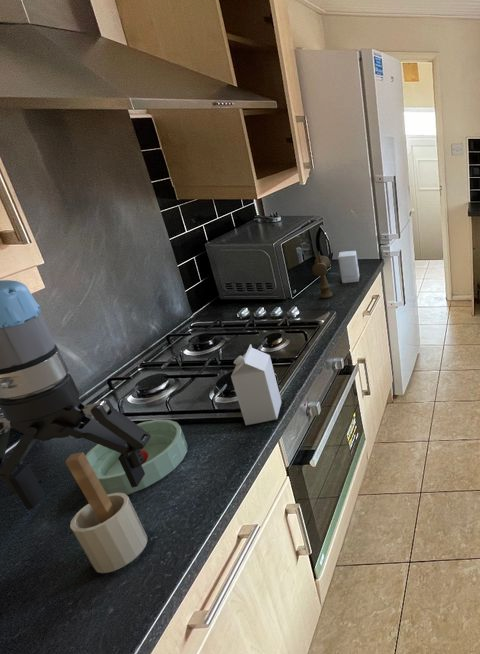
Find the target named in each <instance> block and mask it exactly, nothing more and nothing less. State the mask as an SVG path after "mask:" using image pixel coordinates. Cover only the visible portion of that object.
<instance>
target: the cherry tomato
mask: <svg viewBox="0 0 480 654" xmlns="http://www.w3.org/2000/svg"><path fill="white" fill-rule="evenodd" d="M141 452H142V454H143V457H144V461H143V462H142V463H144V462H145V461H146V460H147V458H148V453H147V452H146V451H144V450H141Z"/></svg>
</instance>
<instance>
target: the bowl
mask: <svg viewBox="0 0 480 654" xmlns="http://www.w3.org/2000/svg"><path fill="white" fill-rule="evenodd" d="M136 424H137V425H138V426H139V427H141V428H142V429H143V430H145V431H146V432H148V433H149V434H150V435H151V437H150V439H149V440H148V442H147V443H146V445H145V446H144V448H143V449H140V450H144V451H146V452H147V453H148V458H147V460H146V461H145V462H144V463H142V464H141V465H142V468H143V470H144V472H145V475H144V476H143V478H142V480H141V481H140V483H139V485H138V486H137V487H133V488H132V487H131V485H130V482H129V480H128V478H127V476H126V474H125V472H124V470H123V467H122V465H121V463H120V461H119V459H118V458H119V456H120V455H121V453H119V452H116V451H114V450H112V449H109V448H107V447H104V446H102V445H99V444H97V443H96V445H95V446H93V447H92V448H91V449H90V450H89V451H88V452H87V453H86V454H85V456H86V458H87V460H88V461H89V463H90V465H91V467H92V469H93V471H94V472H95V474H96V476H97V478H98V480H99V481H100V483H101V485H102V487H103V489H104V490H105V492H106V494H107V495H108V494H113V493H125V494H126V495H127V496H128V495H131V494H133V493H135V492H139V491H142V490H144V489H146V488H148V487H150V486H151V485H153V484H156V483H157V482H159V481H161V480H162V479H164V478H165V477H166V476H168V475H169V474H170V473H171V472H173V471H174V470H176V468H177V467H178V466H179V465H180V464H181V462H183V461H184V459H185V457H186V456H187V455H186V454H187V453H188V443H187V439H186V437H185V435H184V432H183V430H182V426H181V425H180V424H179V423H178V422H177V421H174V420H171V419H153V420H148V421H142V422H140V423H136ZM126 446H127V444H126Z"/></svg>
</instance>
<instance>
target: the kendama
mask: <svg viewBox="0 0 480 654" xmlns="http://www.w3.org/2000/svg"><path fill="white" fill-rule="evenodd" d="M330 266H331V260H330V257H328V256H326V255H321V252H320V251H317V257H315V259H314V265H312V269H311V271H312V273H313V275H314V276H316V277H320V285H319V286H318V288H319V289H320V291H321V292H320V294H319V297H320V298H321V299H328V298H332V297H333V295H334V292H332V291H331V283H329V281H328V279H327V277H326V274H328V268H330Z"/></svg>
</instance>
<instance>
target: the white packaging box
mask: <svg viewBox="0 0 480 654" xmlns="http://www.w3.org/2000/svg"><path fill="white" fill-rule="evenodd" d="M337 260H338V265H339V272H340V278H341V284H348V283H349V284H350V283H359V282H360V269H359V262H358V255H357V250H348V251H347V250H345V251H340V252H339V253H338V257H337Z"/></svg>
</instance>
